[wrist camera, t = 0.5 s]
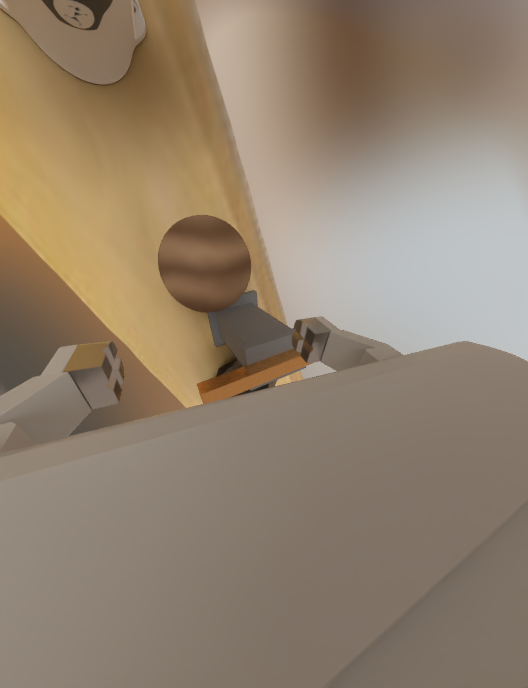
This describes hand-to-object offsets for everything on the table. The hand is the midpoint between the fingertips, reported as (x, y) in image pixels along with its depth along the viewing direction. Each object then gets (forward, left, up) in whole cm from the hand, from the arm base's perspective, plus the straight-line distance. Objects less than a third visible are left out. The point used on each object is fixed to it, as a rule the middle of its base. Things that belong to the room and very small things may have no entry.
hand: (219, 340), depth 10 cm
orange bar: (+20, +12, -21) cm, 31 cm away
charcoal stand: (+20, +16, -47) cm, 53 cm away
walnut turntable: (+2, +7, -31) cm, 31 cm away
